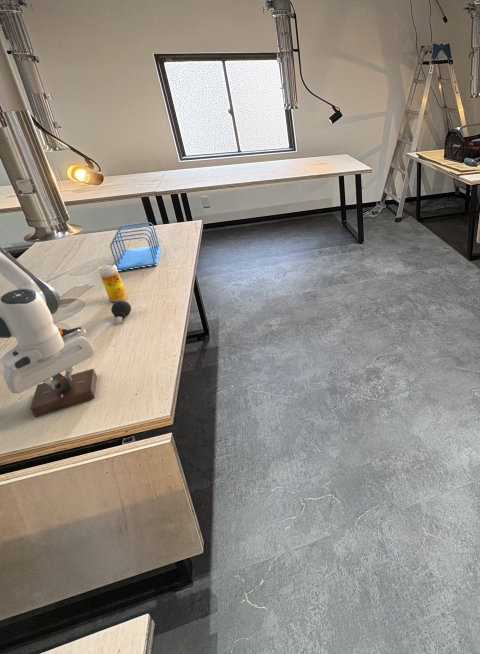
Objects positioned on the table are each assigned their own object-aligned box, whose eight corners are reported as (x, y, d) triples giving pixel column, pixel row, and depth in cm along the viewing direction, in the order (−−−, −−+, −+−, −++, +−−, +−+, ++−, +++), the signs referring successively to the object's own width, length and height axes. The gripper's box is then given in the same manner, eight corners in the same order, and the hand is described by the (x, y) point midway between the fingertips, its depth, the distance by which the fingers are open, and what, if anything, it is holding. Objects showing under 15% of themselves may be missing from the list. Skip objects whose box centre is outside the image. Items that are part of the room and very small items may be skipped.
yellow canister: (119, 303, 167) (107, 270, 160) (106, 302, 168) (94, 269, 161) (130, 295, 172) (119, 263, 166) (117, 294, 173) (105, 262, 167)
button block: (37, 357, 136) (32, 347, 134) (42, 342, 144) (37, 332, 142) (80, 346, 141) (76, 336, 139) (82, 331, 149) (78, 322, 147)
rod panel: (34, 417, 112) (29, 408, 111) (41, 392, 121) (36, 384, 119) (94, 398, 118) (90, 389, 117) (96, 376, 127) (93, 368, 125)
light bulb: (105, 318, 149) (111, 297, 155) (109, 328, 153) (114, 307, 160) (126, 318, 151) (131, 297, 158) (128, 328, 155) (133, 307, 162)
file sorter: (157, 266, 198) (148, 236, 191) (116, 273, 192) (105, 242, 185) (161, 247, 219) (153, 220, 212) (124, 253, 213) (115, 225, 206)
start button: (49, 339, 139) (47, 335, 138) (51, 334, 142) (49, 330, 141) (62, 336, 140) (60, 332, 139) (64, 331, 143) (62, 327, 142)
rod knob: (55, 385, 119) (50, 374, 117) (62, 382, 120) (57, 370, 118) (64, 392, 116) (58, 381, 114) (71, 388, 117) (66, 377, 116)
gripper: (79, 323, 121) (95, 360, 127) (-8, 362, 105) (15, 402, 112) (89, 329, 118) (105, 367, 124) (1, 370, 102) (24, 411, 109)
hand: (62, 384), depth 118 cm, fingers closed on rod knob, 2 cm apart
